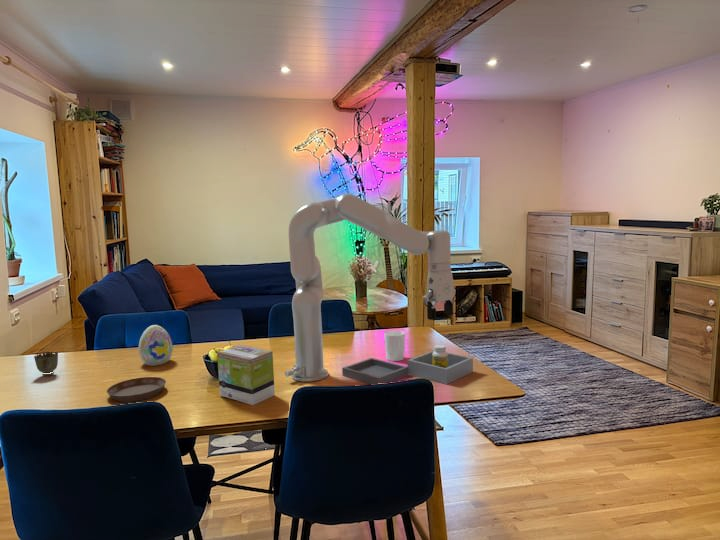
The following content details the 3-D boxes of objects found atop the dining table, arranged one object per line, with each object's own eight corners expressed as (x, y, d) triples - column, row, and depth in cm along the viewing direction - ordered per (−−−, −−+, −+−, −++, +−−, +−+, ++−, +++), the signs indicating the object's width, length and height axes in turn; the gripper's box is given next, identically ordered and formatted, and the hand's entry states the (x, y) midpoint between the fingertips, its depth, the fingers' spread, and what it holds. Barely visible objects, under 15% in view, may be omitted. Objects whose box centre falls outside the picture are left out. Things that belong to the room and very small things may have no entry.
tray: (378, 386, 164) (378, 378, 164) (342, 375, 176) (342, 367, 176) (408, 374, 175) (407, 366, 175) (371, 365, 187) (371, 357, 187)
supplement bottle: (448, 370, 178) (448, 344, 177) (448, 376, 173) (447, 348, 172) (433, 370, 179) (432, 343, 178) (432, 375, 174) (431, 348, 173)
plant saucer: (99, 395, 165) (98, 386, 165) (153, 381, 177) (152, 372, 177) (119, 409, 153) (118, 399, 152) (175, 393, 165) (175, 384, 164)
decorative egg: (144, 369, 189) (140, 330, 187) (136, 362, 199) (133, 324, 197) (177, 363, 196) (174, 325, 195) (168, 356, 206) (165, 320, 204)
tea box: (218, 397, 160) (215, 351, 158) (242, 387, 168) (239, 343, 166) (252, 406, 151) (250, 358, 150) (276, 395, 160) (273, 349, 158)
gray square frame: (446, 384, 165) (446, 369, 164) (407, 374, 176) (407, 360, 175) (472, 371, 176) (472, 357, 175) (435, 362, 187) (434, 349, 187)
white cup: (404, 362, 189) (403, 336, 188) (383, 361, 191) (382, 335, 190) (406, 355, 197) (406, 330, 196) (386, 355, 199) (385, 330, 197)
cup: (64, 372, 189) (62, 351, 188) (47, 379, 182) (45, 357, 181) (48, 371, 191) (46, 350, 190) (31, 378, 184) (29, 356, 183)
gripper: (433, 271, 163) (434, 323, 165) (463, 265, 175) (463, 313, 177) (414, 269, 168) (415, 320, 170) (444, 264, 180) (445, 311, 182)
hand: (440, 317), depth 173 cm, fingers open, 9 cm apart
